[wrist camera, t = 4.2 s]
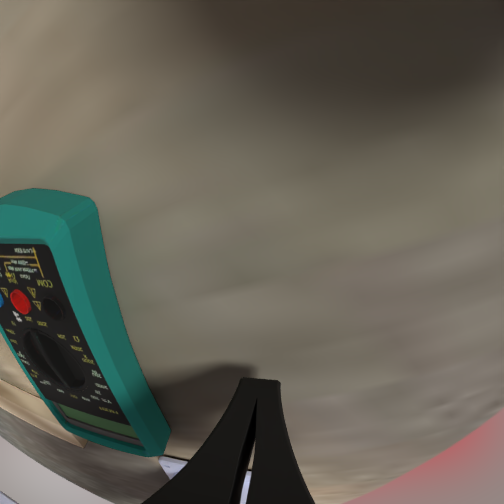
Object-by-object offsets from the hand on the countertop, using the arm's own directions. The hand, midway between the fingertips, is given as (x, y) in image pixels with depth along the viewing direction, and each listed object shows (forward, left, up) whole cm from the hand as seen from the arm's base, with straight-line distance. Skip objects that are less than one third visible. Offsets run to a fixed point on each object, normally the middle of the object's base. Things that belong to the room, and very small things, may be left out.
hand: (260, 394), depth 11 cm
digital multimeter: (0, +9, -2) cm, 9 cm away
